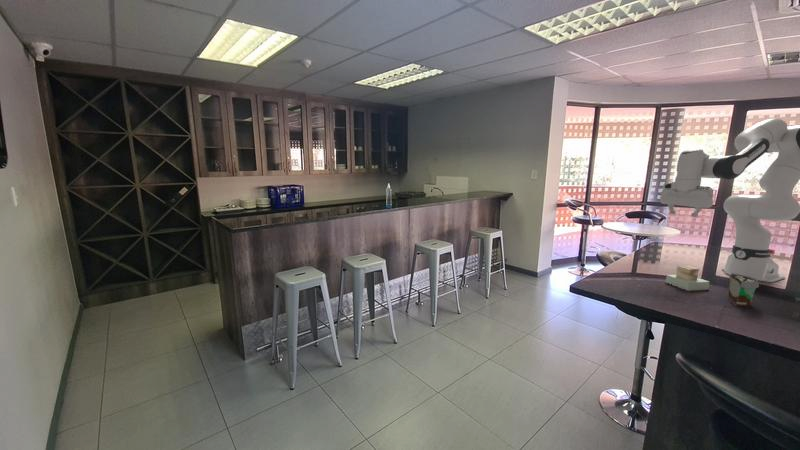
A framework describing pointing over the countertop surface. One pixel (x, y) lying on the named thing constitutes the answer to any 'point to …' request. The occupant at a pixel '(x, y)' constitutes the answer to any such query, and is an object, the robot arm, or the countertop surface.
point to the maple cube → (687, 272)
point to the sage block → (688, 283)
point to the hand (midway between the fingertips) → (683, 215)
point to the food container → (742, 289)
